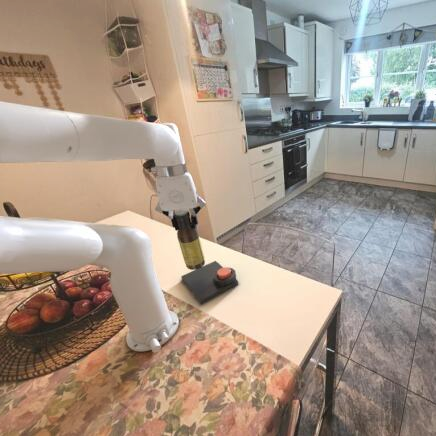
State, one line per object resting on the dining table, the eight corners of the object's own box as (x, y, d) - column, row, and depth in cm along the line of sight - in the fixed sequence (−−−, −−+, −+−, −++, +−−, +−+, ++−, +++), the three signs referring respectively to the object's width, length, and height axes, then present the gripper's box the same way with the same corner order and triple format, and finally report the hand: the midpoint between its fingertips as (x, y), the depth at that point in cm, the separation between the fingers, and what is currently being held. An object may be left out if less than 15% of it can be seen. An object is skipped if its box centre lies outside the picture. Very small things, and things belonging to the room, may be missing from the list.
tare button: (233, 275, 82) (233, 271, 81) (221, 281, 79) (221, 277, 79) (227, 269, 85) (226, 265, 84) (215, 275, 82) (214, 271, 82)
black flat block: (241, 282, 83) (240, 274, 81) (201, 304, 74) (199, 296, 73) (219, 263, 94) (217, 255, 92) (182, 280, 85) (179, 272, 84)
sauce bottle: (193, 258, 86) (180, 207, 77) (209, 260, 85) (197, 208, 76) (181, 270, 80) (166, 215, 72) (198, 272, 79) (185, 216, 70)
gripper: (134, 176, 64) (154, 237, 71) (202, 170, 67) (213, 229, 75) (143, 169, 70) (160, 225, 78) (204, 164, 73) (215, 219, 81)
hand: (186, 227), depth 76 cm, fingers closed on sauce bottle, 4 cm apart
